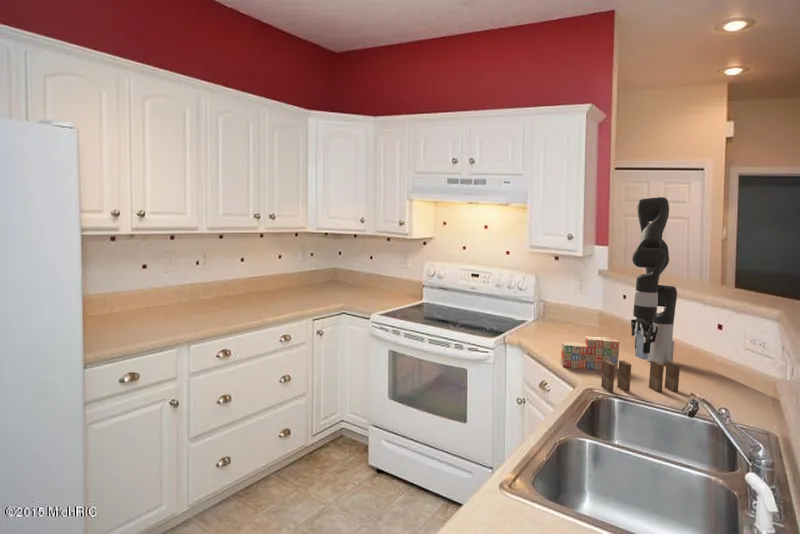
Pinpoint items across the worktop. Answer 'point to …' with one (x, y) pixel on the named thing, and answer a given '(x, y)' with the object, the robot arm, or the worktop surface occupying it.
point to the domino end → (608, 375)
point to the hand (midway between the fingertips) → (642, 350)
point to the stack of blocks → (590, 353)
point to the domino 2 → (640, 346)
